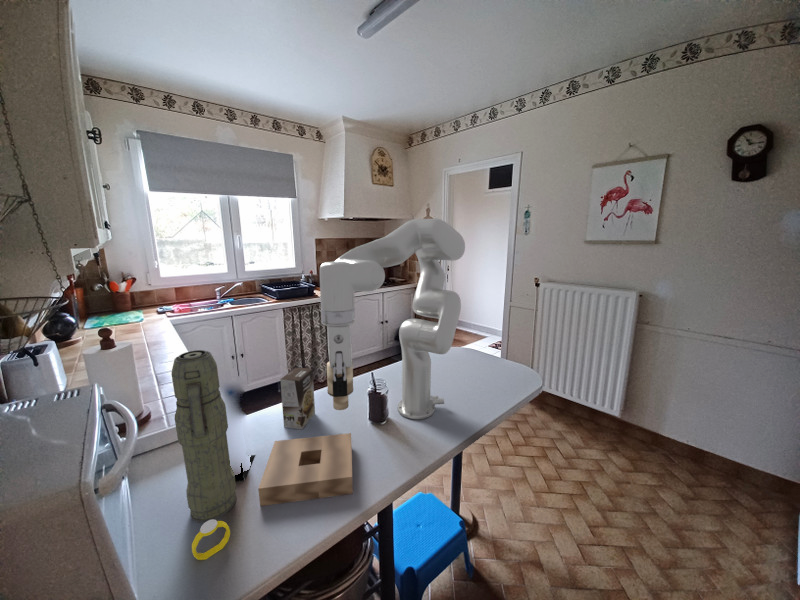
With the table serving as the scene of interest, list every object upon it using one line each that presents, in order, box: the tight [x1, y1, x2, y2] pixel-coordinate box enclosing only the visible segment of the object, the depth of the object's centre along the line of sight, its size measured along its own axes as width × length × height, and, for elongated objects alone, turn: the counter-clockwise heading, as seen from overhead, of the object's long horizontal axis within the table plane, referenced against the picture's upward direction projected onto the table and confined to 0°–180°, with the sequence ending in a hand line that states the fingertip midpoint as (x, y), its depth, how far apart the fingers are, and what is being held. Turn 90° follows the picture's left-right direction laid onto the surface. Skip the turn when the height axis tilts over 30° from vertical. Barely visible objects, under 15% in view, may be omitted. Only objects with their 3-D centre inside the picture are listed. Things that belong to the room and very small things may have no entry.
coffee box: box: [280, 367, 316, 430], centre depth 97 cm, size 9×6×16 cm
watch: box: [191, 519, 231, 561], centre depth 57 cm, size 6×3×6 cm, turn 136°
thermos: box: [171, 349, 237, 523], centre depth 64 cm, size 9×12×35 cm
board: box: [257, 432, 354, 507], centre depth 76 cm, size 20×16×4 cm
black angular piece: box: [235, 454, 256, 483], centre depth 78 cm, size 12×7×5 cm, turn 9°
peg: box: [326, 361, 354, 411], centre depth 74 cm, size 6×6×11 cm
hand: (340, 388), depth 74 cm, fingers closed on peg, 6 cm apart
